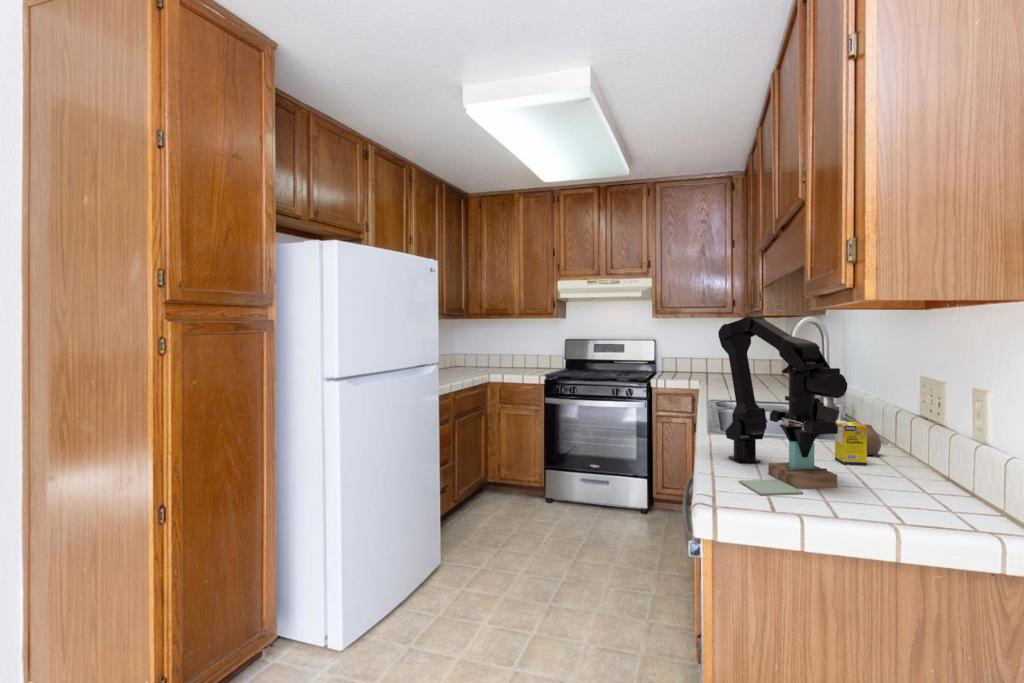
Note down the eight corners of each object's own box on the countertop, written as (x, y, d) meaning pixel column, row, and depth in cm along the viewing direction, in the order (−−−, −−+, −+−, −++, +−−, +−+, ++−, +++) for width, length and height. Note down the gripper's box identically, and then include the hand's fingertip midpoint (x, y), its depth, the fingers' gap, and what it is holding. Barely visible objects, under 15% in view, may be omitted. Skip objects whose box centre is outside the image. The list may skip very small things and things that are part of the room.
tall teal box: (788, 473, 130) (789, 441, 130) (808, 472, 131) (808, 440, 131) (794, 475, 128) (794, 443, 128) (814, 475, 128) (814, 442, 128)
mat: (738, 482, 128) (738, 480, 128) (777, 481, 129) (777, 479, 129) (760, 495, 118) (760, 493, 118) (803, 494, 119) (803, 491, 119)
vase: (886, 457, 151) (887, 427, 151) (862, 457, 151) (862, 427, 151) (870, 451, 158) (870, 422, 158) (847, 451, 158) (847, 423, 158)
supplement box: (867, 465, 143) (867, 425, 142) (843, 464, 144) (843, 425, 143) (857, 460, 148) (858, 421, 148) (834, 459, 150) (834, 421, 149)
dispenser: (768, 474, 135) (768, 461, 135) (805, 473, 136) (805, 460, 136) (796, 488, 123) (796, 474, 123) (837, 487, 124) (837, 473, 124)
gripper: (860, 397, 120) (860, 465, 120) (809, 388, 139) (808, 446, 139) (814, 398, 119) (813, 466, 120) (768, 388, 138) (768, 447, 138)
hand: (801, 455), depth 129 cm, fingers closed on tall teal box, 2 cm apart
